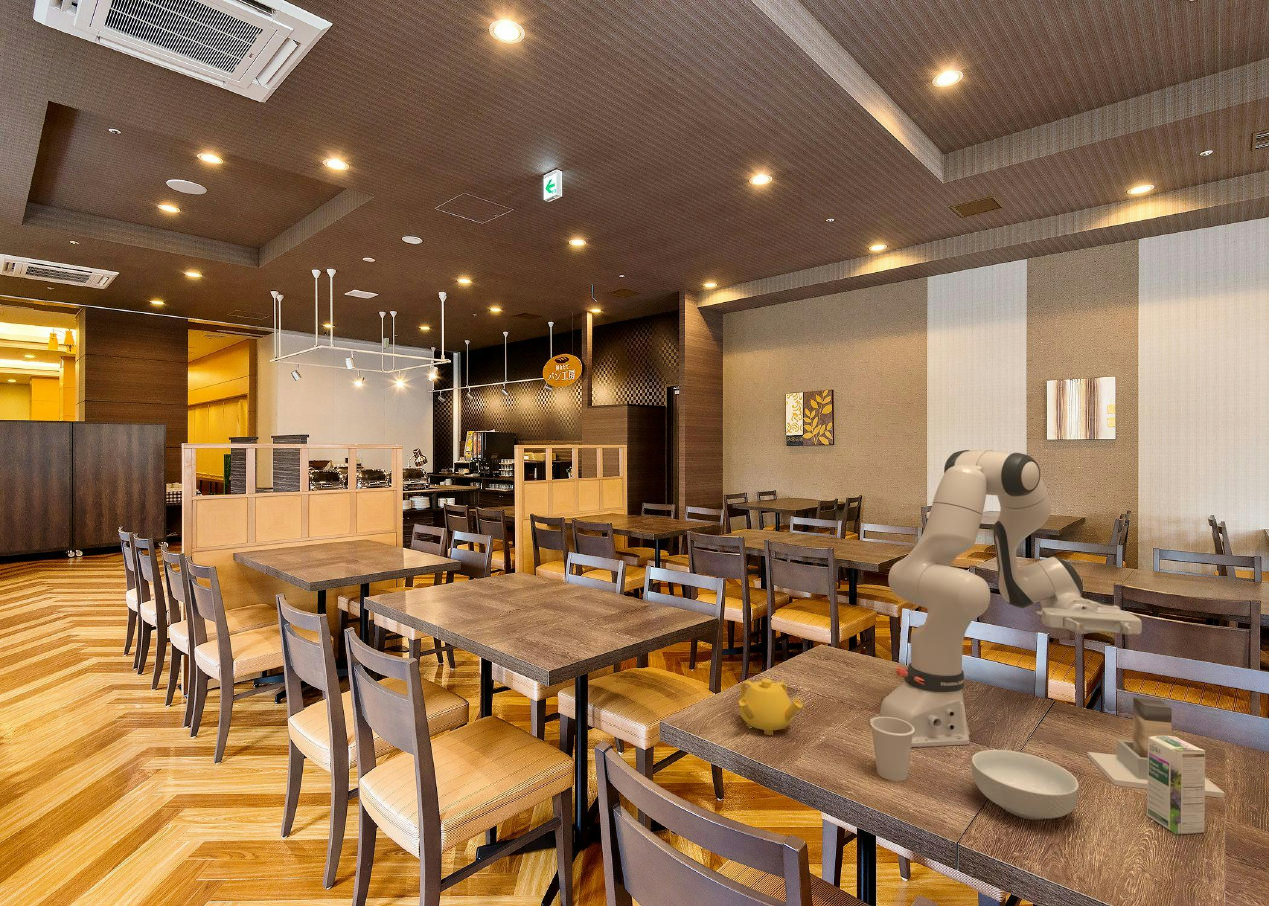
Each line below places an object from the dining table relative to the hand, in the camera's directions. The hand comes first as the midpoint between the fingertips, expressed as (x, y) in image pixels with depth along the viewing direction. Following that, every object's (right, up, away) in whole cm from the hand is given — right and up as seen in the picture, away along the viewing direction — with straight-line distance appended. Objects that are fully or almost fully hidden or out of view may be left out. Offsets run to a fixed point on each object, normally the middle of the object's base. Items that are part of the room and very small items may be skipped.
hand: (1103, 629), depth 146 cm
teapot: (-79, -24, +1) cm, 82 cm away
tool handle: (-5, -23, -20) cm, 31 cm away
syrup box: (-15, -24, -36) cm, 46 cm away
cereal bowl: (-38, -24, -31) cm, 55 cm away
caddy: (-5, -24, -20) cm, 32 cm away
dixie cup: (-58, -24, -19) cm, 66 cm away
